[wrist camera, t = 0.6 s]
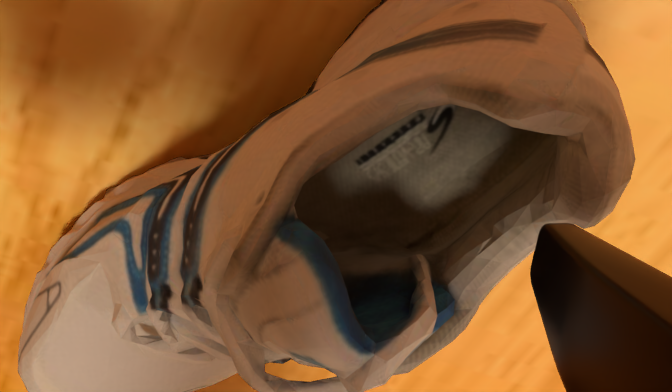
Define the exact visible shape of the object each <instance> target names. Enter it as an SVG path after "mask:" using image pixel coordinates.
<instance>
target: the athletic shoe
mask: <svg viewBox="0 0 672 392" xmlns="http://www.w3.org/2000/svg"><path fill="white" fill-rule="evenodd" d="M634 162H635V155H634V149H633V143H632V137H631V131H630V127H629V124H628V120H627V117H626V114H625V110H624V107H623V104H622V100H621V97H620V93H619V90H618V88H617V86H616V84H615V82H614V80H613V78H612V76H611V74H610V73H609V71H608V69H607V67H606V65H605V63H604V61H603V60H602V59H601V57H600V56H599V55H598V54H597V53H596V52H595V50H594V49H593V48H592V47H591V46H590V44H589V41H588V37H587V34H586V30H585V26H584V25H583V23H582V21H581V20H580V18H579V16H578V14H577V13H576V11H575V9H574V8H573V6H572V4H570V3H569V2H568V1H567V0H382V1H381V3H380V5H378V6H377V7H376V8H374V9H373V10H371V11H370V12H369V13H368V14H367V16H366V17H365V18H364V19H363V20H362V21H361V22H360V23H359V25H358V26H357V27H356V28H355V29H354V30H353V32H352V33H351V34H350V36H349V37H348V38H347V39H346V41H345V42H344V43H343V44H342V46H341V47H340V48H339V49H338V50H337V51H336V53H335V54H334V55H333V57H332V58H331V60H330V61H329V63H328V64H327V65H326V67H325V68H324V70H323V71H322V73H321V74H320V75H319V77H318V78H317V79H316V81H315V82H314V83H313V84H312V86H311V87H310V89H309V91H308V92H307V94H306V95H305V96H304V97H302V98H300V99H298V100H297V101H295V102H293V103H291V104H289V105H287V106H285V107H283V108H281V109H280V110H278V111H276V112H274V113H272V114H270V115H269V116H268V117H266V118H265V119H264V120H262V121H261V122H260V123H258V124H257V125H256V126H254V127H253V128H252V129H251V130H250V131H249V132H247V133H246V134H245V135H244V136H243V137H241V138H240V139H239V140H237V141H236V142H234V143H232V144H231V145H229V146H227V147H225V148H223V149H222V150H220V151H218V152H216V153H214V154H210V155H204V156H199V157H194V158H191V159H186V158H183V157H179V158H175V159H172V160H170V161H168V162H167V163H164V164H162V165H159V166H156V167H153V168H150V169H149V170H148V171H147V172H146V173H144V174H142V175H139V176H132V177H131V178H129V179H128V180H126V181H124V182H123V183H121V184H120V185H119V186H116V187H113V188H110V189H107V191H106V194H105V197H104V199H102V200H100V201H98V202H96V203H94V204H93V205H92V206H91V207H90V208H89V209H88V210H87V211H85V212H84V213H83V214H82V215H81V217H80V218H79V219H78V220H77V221H76V222H75V224H74V226H73V228H72V229H71V230H70V231H69V232H68V233H66V234H65V235H64V236H63V237H62V238H61V239H60V240H59V241H58V242H57V243H56V244H55V245H54V246H53V248H52V249H51V250H50V253H49V255H48V258H47V261H46V262H45V264H44V266H43V268H42V270H41V271H40V272H38V273H37V276H36V278H35V281H34V284H33V287H32V290H31V293H30V295H29V298H28V301H27V304H26V307H25V315H24V323H23V332H22V335H21V337H20V344H19V352H18V372H19V374H20V376H21V378H22V380H23V382H24V384H25V386H26V389H27V391H28V392H193V391H196V390H199V389H201V388H205V387H208V386H211V385H214V384H216V383H218V382H220V381H222V380H224V379H227V378H229V377H231V376H232V375H234V374H236V373H238V374H239V375H240V376H241V377H242V378H243V379H244V380H245V381H246V382H247V383H248V384H249V385H250V386H251V387H252V388H253V389H255V390H257V391H259V392H364V391H366V390H369V389H372V388H375V387H378V386H381V385H384V384H386V382H387V381H388V380H389V379H390V377H391V376H392V375H397V374H404V373H408V372H410V371H411V370H413V369H414V368H415V367H417V366H418V365H420V364H421V363H423V362H424V361H425V360H427V359H428V358H430V357H431V356H432V355H434V354H435V353H437V352H438V351H440V350H441V349H442V348H444V347H445V346H447V345H448V344H449V343H451V342H452V341H453V340H454V339H455V338H456V337H457V336H458V335H459V334H460V333H461V332H462V331H463V330H464V329H465V328H466V327H467V325H468V324H469V322H470V321H471V319H472V318H473V316H474V315H475V313H476V311H477V310H478V307H479V305H480V304H481V303H482V301H483V300H484V299H485V297H486V296H487V295H488V293H489V292H490V291H491V290H492V289H493V288H494V287H495V286H496V285H497V284H498V283H499V282H500V281H501V280H502V279H503V278H504V277H505V276H506V275H507V274H508V273H509V272H510V271H511V270H512V269H513V268H514V267H515V266H517V265H518V264H519V263H520V262H521V261H522V260H524V259H525V258H526V257H527V256H528V255H530V254H531V253H532V252H533V251H534V250H535V247H536V243H537V239H538V234H539V231H540V229H541V227H542V226H543V225H545V224H547V223H571V224H575V225H577V226H579V227H581V228H583V229H584V228H588V227H592V226H595V225H596V224H597V223H599V222H600V221H601V220H602V219H604V218H605V217H606V216H608V215H609V214H610V213H611V212H612V211H613V209H614V208H615V206H616V204H617V202H618V200H619V199H620V197H621V195H622V193H623V191H624V190H625V188H626V186H627V184H628V182H629V181H630V179H631V174H632V170H633V166H634ZM290 359H293V360H294V361H296V362H298V363H299V364H303V365H307V366H312V367H319V368H325V369H327V370H329V371H331V372H332V373H334V374H336V375H337V377H332V378H327V379H322V380H317V381H312V382H304V381H290V380H285V379H282V378H279V377H276V376H273V375H270V374H267V373H266V372H265V364H266V363H269V362H272V363H282V364H283V363H285V362H287V361H289V360H290Z"/></svg>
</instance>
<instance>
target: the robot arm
mask: <svg viewBox="0 0 672 392" xmlns="http://www.w3.org/2000/svg"><path fill="white" fill-rule="evenodd" d="M530 276H531V283H532V287H533V290H534V294H535V297H536V300H537V304H538V307H539V310H540V314H541V317H542V321H543V324H544V327H545V331H546V334H547V337H548V341H549V344H550V347H551V351H552V354H553V357H554V360H555V363H556V366H557V369H558V372H559V375H560V377H561V380H562V382H563V385H564V387H565V389H566V392H672V277H670V276H669V275H667V274H665V273H663V272H661V271H659V270H657V269H656V268H654V267H652V266H650V265H648V264H646V263H644V262H642V261H641V260H639V259H637V258H635V257H633V256H631V255H629V254H628V253H626V252H624V251H622V250H620V249H618V248H616V247H615V246H613V245H611V244H609V243H607V242H605V241H603V240H602V239H600V238H598V237H596V236H594V235H592V234H590V233H589V232H587V231H585V230H583V229H581V228H579V227H577V226H576V225H574V224H571V223H547V224H545V225H543V226H542V227H541V229H540V231H539V234H538V239H537V243H536V247H535V252H534V256H533V260H532V265H531V272H530Z"/></svg>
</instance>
